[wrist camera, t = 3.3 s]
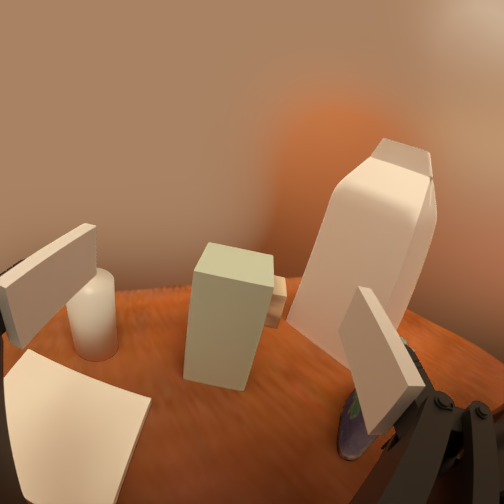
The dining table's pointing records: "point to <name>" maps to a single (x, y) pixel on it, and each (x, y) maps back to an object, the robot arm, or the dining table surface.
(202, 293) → the sage block
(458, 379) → the dining table surface
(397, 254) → the milk
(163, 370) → the dining table surface
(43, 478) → the white tile
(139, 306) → the dining table surface
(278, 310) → the maple cube
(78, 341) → the white cylinder
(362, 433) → the flask
